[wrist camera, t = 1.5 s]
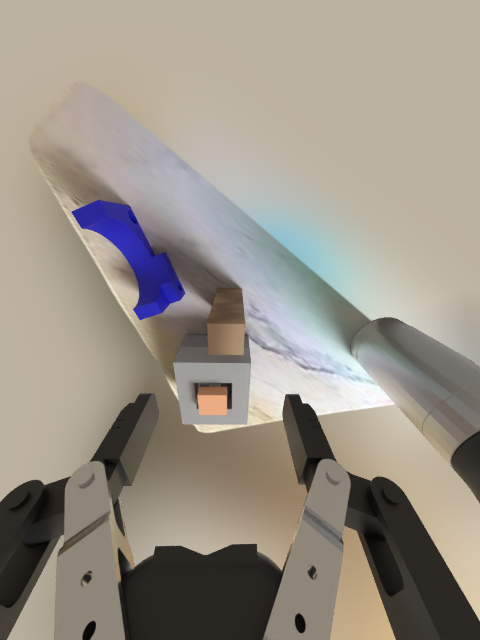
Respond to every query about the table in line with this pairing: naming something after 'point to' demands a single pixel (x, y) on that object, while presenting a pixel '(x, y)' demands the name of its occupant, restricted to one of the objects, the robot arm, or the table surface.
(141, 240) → the blue bent block
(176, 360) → the box
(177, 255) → the table surface
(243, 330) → the brown wooden plank
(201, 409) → the button
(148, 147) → the table surface
